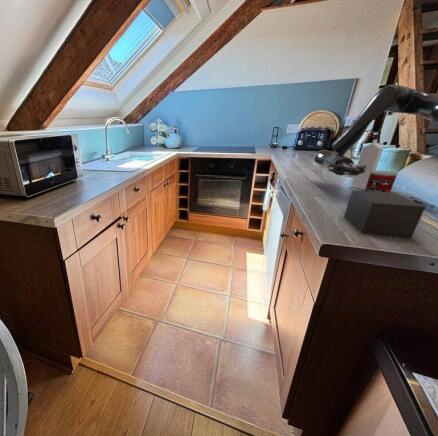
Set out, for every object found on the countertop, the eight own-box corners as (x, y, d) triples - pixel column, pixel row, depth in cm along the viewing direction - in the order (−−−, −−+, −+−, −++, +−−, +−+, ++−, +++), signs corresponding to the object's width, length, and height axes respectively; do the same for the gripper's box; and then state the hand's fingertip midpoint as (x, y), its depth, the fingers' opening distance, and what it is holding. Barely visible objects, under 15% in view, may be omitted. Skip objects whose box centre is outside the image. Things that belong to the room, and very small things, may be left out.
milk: (350, 187, 118) (364, 139, 110) (354, 185, 122) (369, 139, 113) (365, 189, 114) (382, 140, 105) (370, 187, 117) (386, 139, 109)
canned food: (358, 197, 104) (366, 171, 100) (370, 194, 106) (378, 169, 102) (379, 202, 97) (389, 175, 93) (391, 199, 100) (401, 173, 95)
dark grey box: (343, 216, 84) (352, 190, 80) (385, 220, 80) (396, 192, 77) (361, 233, 72) (372, 202, 68) (411, 238, 68) (425, 206, 65)
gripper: (323, 155, 106) (338, 161, 91) (360, 156, 102) (382, 163, 87) (319, 172, 109) (333, 181, 94) (354, 174, 105) (375, 183, 90)
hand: (356, 172), depth 90 cm, fingers closed
